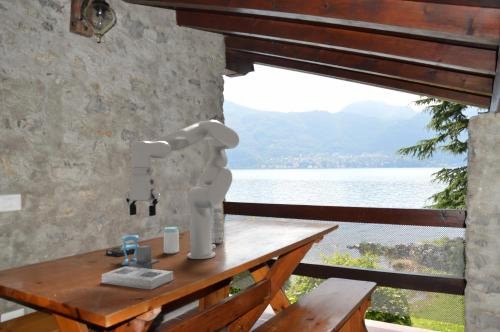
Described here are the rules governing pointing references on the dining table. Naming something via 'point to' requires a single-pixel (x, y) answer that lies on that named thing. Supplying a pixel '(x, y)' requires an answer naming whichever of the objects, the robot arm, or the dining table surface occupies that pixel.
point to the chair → (129, 247)
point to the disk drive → (119, 251)
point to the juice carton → (217, 224)
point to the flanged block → (143, 258)
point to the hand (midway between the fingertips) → (142, 215)
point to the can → (171, 240)
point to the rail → (137, 277)
